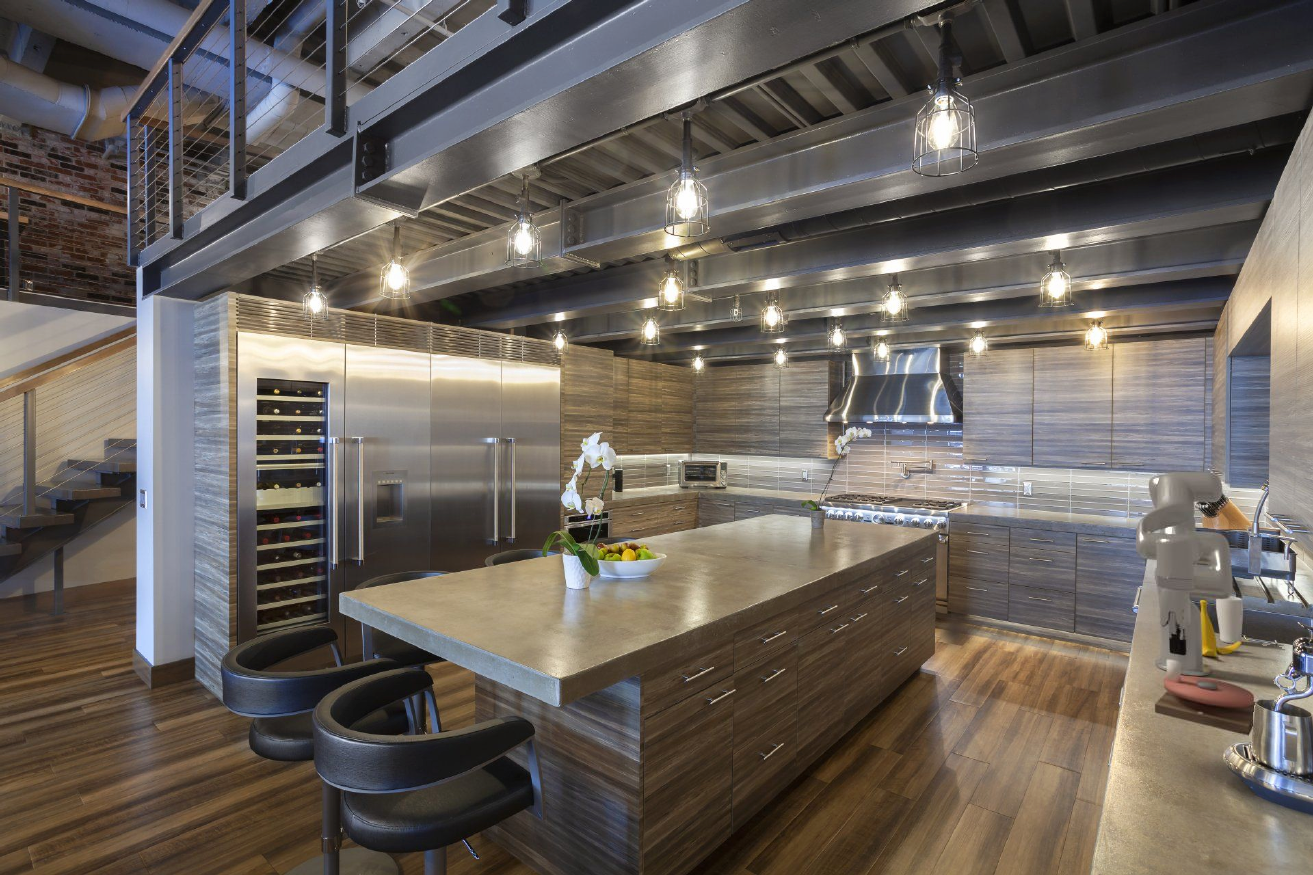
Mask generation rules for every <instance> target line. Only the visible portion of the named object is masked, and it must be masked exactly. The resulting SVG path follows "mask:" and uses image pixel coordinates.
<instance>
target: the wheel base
mask: <svg viewBox="0 0 1313 875" xmlns="http://www.w3.org/2000/svg"><path fill="white" fill-rule="evenodd" d="M1255 703H1256V701H1254V704H1253V705H1251V706H1248V707H1223V706H1215V705H1209V704H1204V703H1199V702H1195V701H1192V700H1188V699H1185V698H1182V697H1179V696H1177V695H1174V694H1172V693H1170V692H1169V691H1167V690H1166V692H1165V693H1164V694H1163V695H1162V696H1161V697H1160V698H1159V699H1158V700H1157V702H1155V703H1154V712H1155V714H1156V713H1157V714H1160V715H1164V716H1168V717H1173V718H1176V719H1181V720H1185V721H1189V722H1193V723H1198V724H1202V725H1204V726H1205V725H1206V726H1210V727H1214V728H1218V729H1222V730H1226V731H1230V732H1234V733H1239V734H1243V735H1247V736H1249V735H1250V734H1251V731H1252V730H1253V728H1254V726H1253V712H1254V705H1255ZM1252 727H1253V728H1252Z"/></svg>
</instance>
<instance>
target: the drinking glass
mask: <svg viewBox="0 0 1313 875" xmlns="http://www.w3.org/2000/svg"><path fill="white" fill-rule="evenodd" d="M1215 608H1216V616H1217V622H1218V623H1217V624H1218V629H1219V638H1220V641H1221V642H1224V643H1226V644H1230V645H1233V644H1235V643H1237V642H1241V643H1242V632H1243V618H1244V604H1243V598H1241V597H1236V596H1233V595H1231V596H1230V597H1229V598H1227V599H1215Z"/></svg>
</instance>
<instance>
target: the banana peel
mask: <svg viewBox="0 0 1313 875" xmlns="http://www.w3.org/2000/svg"><path fill="white" fill-rule="evenodd" d="M1199 603H1200V609H1201V610H1200V613H1201V630H1202V656H1204V657H1205V656H1206V657H1213V658H1218V654H1221V655H1228V654H1231V653H1233V652H1234V651H1236V650H1237V649H1238V648H1240V646H1241V645H1242V643H1243V642H1242V641H1241V642H1237V643H1235V644H1230V645H1227V646H1224V647H1218V646H1217V640H1216V634H1215V630H1214V627H1213V624H1212V621H1211V619H1210V617H1209V613H1208V610H1207V608H1208V607H1207V606H1208V601H1207V600H1204V599H1202V600H1201V599H1200V601H1199Z"/></svg>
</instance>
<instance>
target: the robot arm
mask: <svg viewBox="0 0 1313 875" xmlns="http://www.w3.org/2000/svg"><path fill="white" fill-rule="evenodd" d="M1148 491H1149V496H1150V499H1151V502H1152V504H1153V506H1154V508H1153V509H1152V510H1150V511H1148V513H1146V514H1145V515H1144V516H1142V517H1141V519H1140V520H1139V521H1138V523H1137V525H1136V526H1137V527H1136V532H1135V533H1136V534H1135V535H1136V537H1135V549H1136V553H1137V554H1138V555H1139V557H1141V558H1142V559H1144V560H1145V559H1146V560H1149V561H1150V560H1152V561H1156V567H1155V568H1154V569H1155V570H1154V580H1155V584H1156V589H1157V595H1158V603H1159V604H1158V605H1159V625H1160V628H1159V629H1160V631H1159V632H1160V653H1161V654H1160V656H1161V658H1158V659H1156V660H1155V661H1154V662H1155V663H1154V664H1155V666H1156V668H1159V669H1161V670H1164V671H1166V672H1167V660H1176V661H1179V662H1180V664H1181V675H1182V676H1194V677H1203V676H1205V677H1206V676H1208V675H1210V674H1211V669H1210V668H1209V667H1208V666H1206V665H1204V663H1203V662H1204V660H1203V656H1204V655H1202V630H1201V610H1200V609H1199V607H1198V606H1197V605H1196V604H1195V603H1194V601H1193V600H1191V599H1190V598H1202V599H1203V598H1205V599H1213V600H1216V599H1227V598H1229V597H1230V596H1232V594H1233V573H1232V572H1233V570H1232V561H1231V559H1232V558H1231V549H1230V548H1231V547H1230V544H1229V541H1228V539H1227V537H1225V536H1224V535H1223V534H1221V533H1219V532H1214V531H1213V532H1211V531H1210V532H1209V531H1197V529H1196V518H1195V503H1197V502H1198V503H1216V502H1218V501H1220V499H1221V498H1222V495H1223V483H1222V480H1221V478H1220V477H1219V476H1218V474H1216V473H1213V472H1206V471H1205V472H1203V471H1201V472H1199V471H1197V472H1195V471H1193V472H1192V471H1190V472H1187V471H1174V472H1173V471H1172V472H1168V473H1164V474H1158V475H1154V476H1152V477H1151V478H1150V479H1149V481H1148ZM1156 531H1160V533H1159V532H1156Z"/></svg>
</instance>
